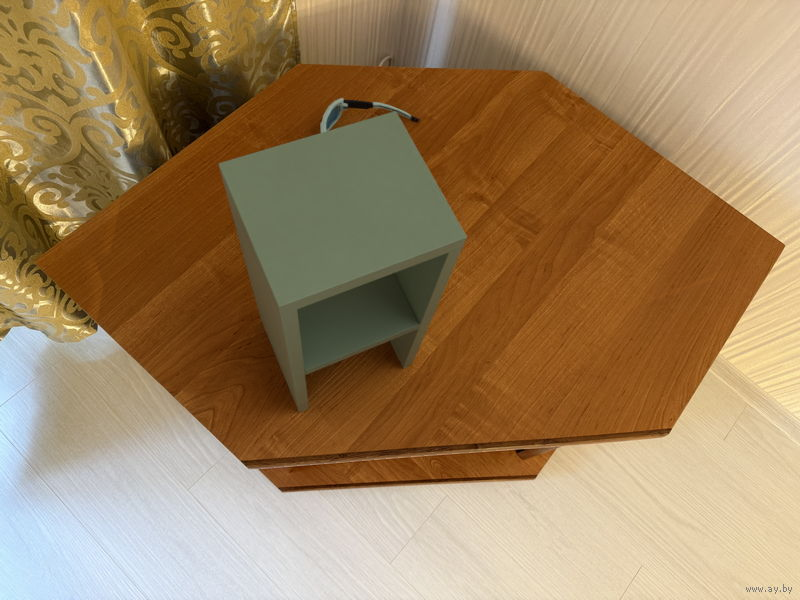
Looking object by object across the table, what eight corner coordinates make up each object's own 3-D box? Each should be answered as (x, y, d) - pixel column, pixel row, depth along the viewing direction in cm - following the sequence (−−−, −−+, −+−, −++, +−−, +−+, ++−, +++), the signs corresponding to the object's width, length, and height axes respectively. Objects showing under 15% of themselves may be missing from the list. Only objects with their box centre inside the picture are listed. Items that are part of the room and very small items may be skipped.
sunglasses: (310, 114, 82) (314, 88, 78) (413, 119, 86) (422, 94, 82) (321, 201, 76) (326, 178, 72) (430, 201, 81) (441, 179, 76)
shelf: (412, 364, 69) (467, 237, 42) (298, 412, 66) (278, 307, 38) (370, 278, 73) (395, 110, 46) (260, 319, 69) (217, 163, 42)
